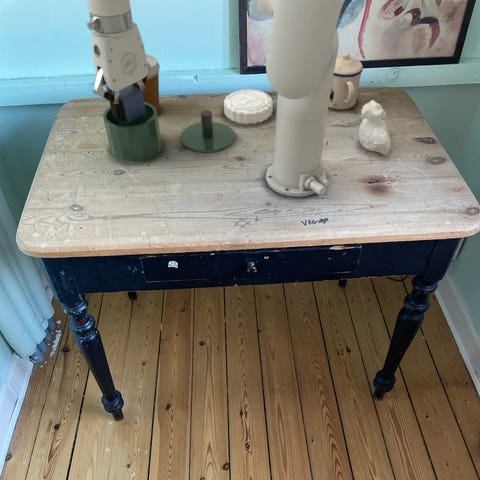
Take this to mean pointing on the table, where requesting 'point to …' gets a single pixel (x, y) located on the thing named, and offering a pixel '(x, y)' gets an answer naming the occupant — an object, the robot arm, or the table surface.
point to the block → (132, 103)
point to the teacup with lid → (345, 82)
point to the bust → (374, 129)
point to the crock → (134, 135)
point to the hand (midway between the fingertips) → (129, 112)
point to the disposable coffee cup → (152, 83)
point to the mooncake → (248, 106)
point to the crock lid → (207, 135)
